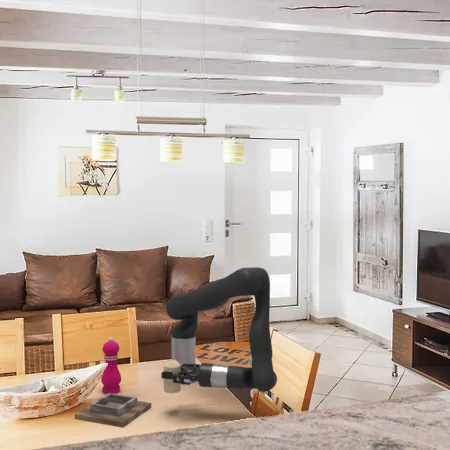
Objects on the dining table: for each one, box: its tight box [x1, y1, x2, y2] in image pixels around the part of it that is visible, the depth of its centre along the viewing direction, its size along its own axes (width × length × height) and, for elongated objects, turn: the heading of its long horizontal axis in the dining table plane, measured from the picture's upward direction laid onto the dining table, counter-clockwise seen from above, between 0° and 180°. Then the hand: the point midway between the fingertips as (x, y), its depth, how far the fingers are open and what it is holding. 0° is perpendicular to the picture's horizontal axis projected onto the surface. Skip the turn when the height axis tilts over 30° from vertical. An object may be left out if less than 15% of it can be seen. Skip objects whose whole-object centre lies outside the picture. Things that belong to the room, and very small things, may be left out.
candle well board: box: [74, 393, 152, 428], centre depth 193 cm, size 18×18×4 cm
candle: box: [163, 359, 182, 394], centre depth 192 cm, size 6×6×10 cm
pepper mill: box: [100, 336, 122, 395], centre depth 213 cm, size 7×7×20 cm
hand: (164, 371), depth 193 cm, fingers closed on candle, 5 cm apart
